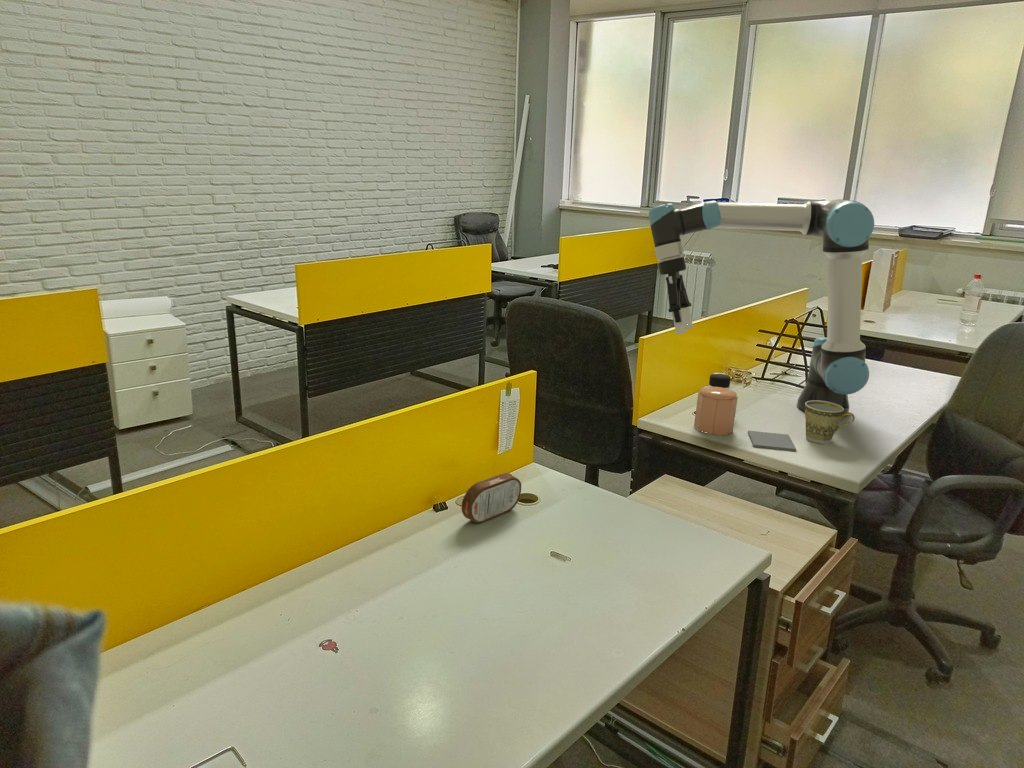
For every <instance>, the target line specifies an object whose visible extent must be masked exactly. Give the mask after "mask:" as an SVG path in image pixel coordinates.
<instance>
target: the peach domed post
mask: <svg viewBox="0 0 1024 768" xmlns="http://www.w3.org/2000/svg"><path fill="white" fill-rule="evenodd" d="M738 399H739V396H737V391H734V390H732V389H730V388H729V389H727V388H722V387H705V386H703V387H701V388H699V390H698V392H697V400H696V409H695V416H694V423H693V426H694V428H695V429H696V430H697V429H698V430H699V432H701V431H703V432H702V433H704V432H707V433H706V434H708V433H710V434H709V435H711V434H713V435H712V436H714V434H716V435H715V436H727V435H729V434H731V433H733V431H734V425H735V419H736V414H737V413H736V412H737V411H736V410H737V405H738Z"/></svg>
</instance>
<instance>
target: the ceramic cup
mask: <svg viewBox="0 0 1024 768" xmlns="http://www.w3.org/2000/svg"><path fill="white" fill-rule="evenodd" d="M843 411H844V408H843V407H842V406H840V405H838V404H835V403H832V402H827V401H820V400H811V401H807V402H806V403H805V411H804V418H805V439H806V440H807V441H809V442H811V443H815V444H819V445H827V444H831V442H832V440H833V437H834V436H835V433H836V432H837V431H838V430H840V429H842V428H843V427H845V426H847V425H849V424H852V423H853V422H855V415H854V413H852V412H846V413H843ZM846 415H847V416H851V417H852V420H851V421H848V422H847V423H844V424H841V425H840V426H838V425H839V422H840V421H841V420H842V419H843V418H844V417H846Z"/></svg>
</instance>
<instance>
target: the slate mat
mask: <svg viewBox="0 0 1024 768" xmlns="http://www.w3.org/2000/svg"><path fill="white" fill-rule="evenodd" d="M747 434H748V437H749V440H750V441H751V442H750V443H752V446H753V448H763V449H772V450H780V451H781V450H782V451H791V452H792V451H793V452H797V448H796V446H795V444H794V442H793V440H792V439H791V436H790V435H789V434H787V433H779V432H778V433H776V432H765V431H764V432H763V431H756V430H747Z"/></svg>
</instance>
